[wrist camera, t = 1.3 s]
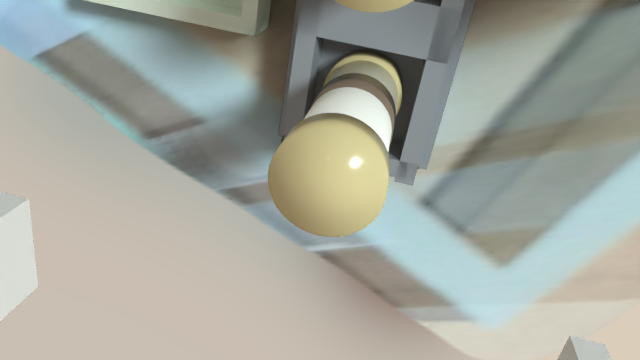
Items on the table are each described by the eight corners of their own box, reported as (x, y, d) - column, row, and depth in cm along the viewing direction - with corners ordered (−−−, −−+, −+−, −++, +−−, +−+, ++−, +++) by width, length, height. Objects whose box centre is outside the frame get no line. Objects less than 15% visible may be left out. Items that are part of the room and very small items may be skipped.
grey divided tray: (323, -183, 24) (310, -196, 21) (518, -150, 23) (530, -160, 20) (280, 132, 31) (266, 151, 29) (426, 165, 30) (426, 188, 28)
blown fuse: (334, 42, 28) (275, 115, 17) (411, 58, 27) (399, 143, 17) (322, 114, 30) (261, 221, 19) (393, 130, 29) (372, 248, 19)
